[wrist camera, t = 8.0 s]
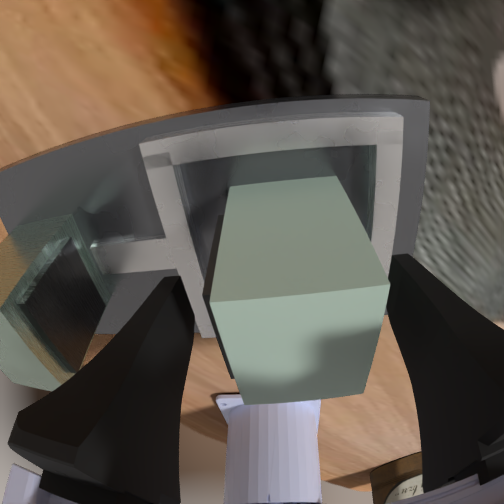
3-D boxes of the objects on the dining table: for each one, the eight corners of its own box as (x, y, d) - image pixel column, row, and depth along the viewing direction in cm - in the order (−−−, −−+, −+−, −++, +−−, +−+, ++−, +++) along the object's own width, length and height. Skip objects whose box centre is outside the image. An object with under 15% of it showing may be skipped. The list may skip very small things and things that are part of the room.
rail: (418, 95, 10) (541, 161, 4) (394, 300, 17) (433, 409, 11) (-5, 170, 12) (-93, 249, 6) (73, 321, 18) (34, 410, 13)
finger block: (336, 176, 11) (390, 284, 7) (335, 278, 14) (363, 393, 9) (219, 187, 12) (192, 303, 7) (240, 287, 15) (232, 405, 10)
